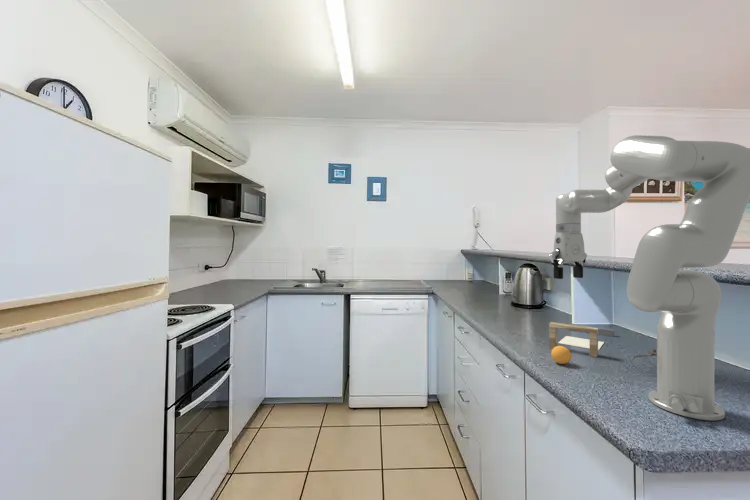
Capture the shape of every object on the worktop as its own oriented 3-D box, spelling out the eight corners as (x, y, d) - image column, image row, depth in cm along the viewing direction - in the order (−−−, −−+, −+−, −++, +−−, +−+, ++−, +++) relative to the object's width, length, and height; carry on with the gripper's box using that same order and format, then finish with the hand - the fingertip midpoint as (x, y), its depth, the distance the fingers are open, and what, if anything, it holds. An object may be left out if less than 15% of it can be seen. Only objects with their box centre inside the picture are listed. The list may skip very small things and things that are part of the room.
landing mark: (598, 350, 114) (598, 349, 114) (557, 343, 123) (557, 342, 123) (604, 342, 124) (604, 342, 124) (566, 336, 132) (566, 335, 132)
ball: (569, 368, 98) (568, 350, 97) (549, 363, 101) (549, 346, 101) (573, 363, 102) (573, 346, 101) (553, 359, 105) (553, 342, 105)
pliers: (631, 360, 103) (629, 345, 119) (631, 362, 103) (629, 347, 119) (671, 366, 97) (664, 350, 113) (671, 369, 97) (664, 352, 113)
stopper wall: (613, 336, 132) (613, 330, 132) (569, 330, 143) (569, 324, 143) (614, 335, 133) (614, 329, 133) (570, 329, 144) (570, 323, 144)
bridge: (596, 357, 107) (596, 330, 107) (549, 348, 117) (549, 323, 117) (598, 355, 109) (598, 328, 109) (551, 346, 119) (551, 321, 119)
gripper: (560, 228, 105) (560, 280, 105) (595, 229, 111) (595, 278, 111) (540, 229, 112) (541, 278, 112) (575, 230, 118) (575, 276, 118)
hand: (568, 278), depth 112 cm, fingers open, 9 cm apart
